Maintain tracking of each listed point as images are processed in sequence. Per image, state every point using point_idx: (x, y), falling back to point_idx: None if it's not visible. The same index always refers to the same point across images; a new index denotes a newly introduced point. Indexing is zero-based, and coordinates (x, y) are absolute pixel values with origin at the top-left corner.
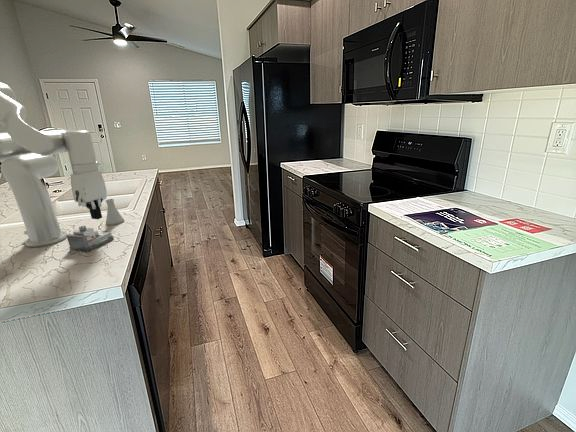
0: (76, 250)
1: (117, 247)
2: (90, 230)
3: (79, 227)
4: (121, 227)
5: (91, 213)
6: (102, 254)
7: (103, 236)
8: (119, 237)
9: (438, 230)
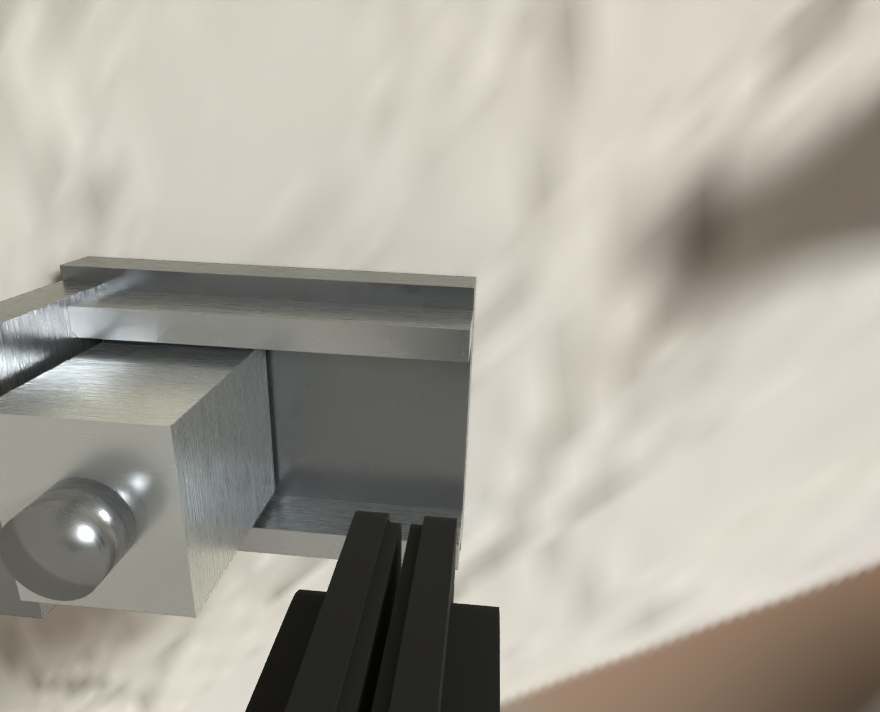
0: None
1: None
2: (147, 602)
3: (8, 538)
4: (869, 353)
5: (272, 685)
6: (151, 640)
7: (336, 553)
8: (521, 549)
9: None
